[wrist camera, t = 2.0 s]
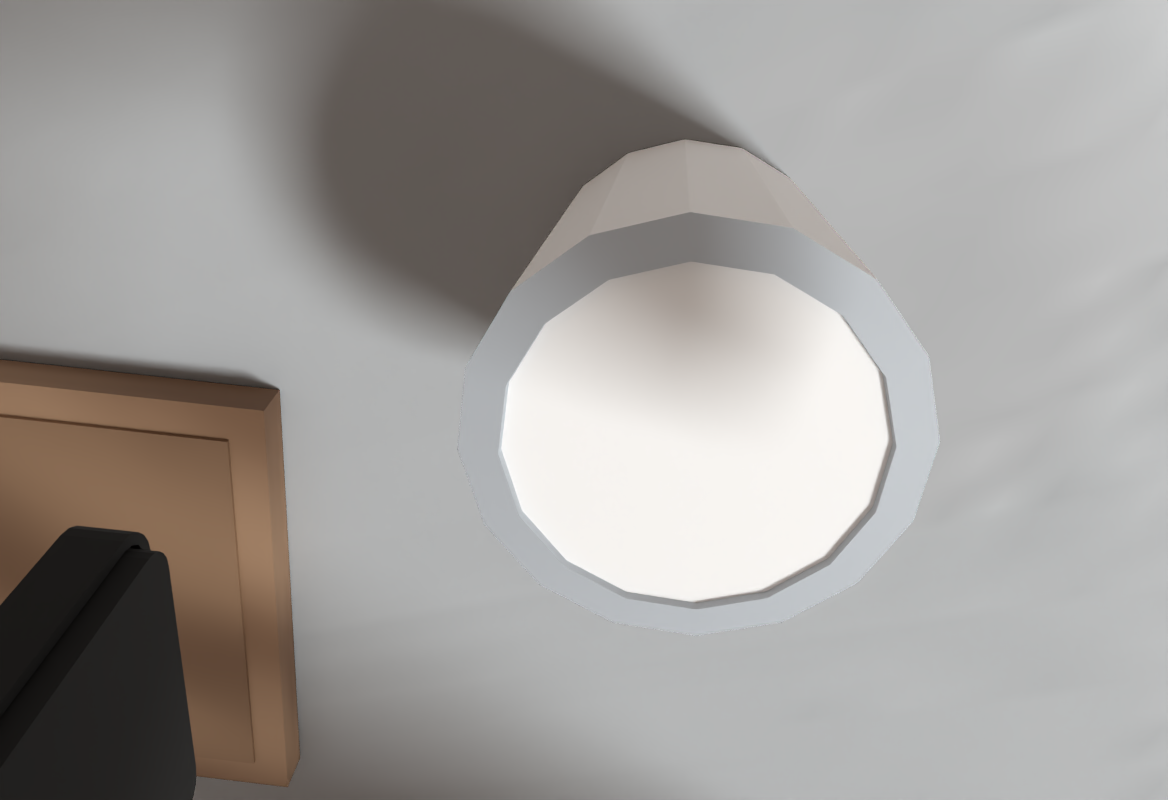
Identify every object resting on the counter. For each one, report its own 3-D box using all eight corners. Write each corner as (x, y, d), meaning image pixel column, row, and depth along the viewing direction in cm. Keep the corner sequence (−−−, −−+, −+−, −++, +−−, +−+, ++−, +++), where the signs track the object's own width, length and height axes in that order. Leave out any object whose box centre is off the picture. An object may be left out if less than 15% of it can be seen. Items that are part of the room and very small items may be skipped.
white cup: (775, 470, 23) (814, 693, 17) (477, 368, 22) (402, 560, 16) (923, 179, 20) (1039, 320, 14) (581, 52, 19) (539, 138, 13)
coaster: (299, 757, 28) (286, 790, 27) (-103, 710, 28) (-131, 740, 27) (279, 389, 23) (262, 412, 22) (-210, 336, 23) (-249, 357, 22)
